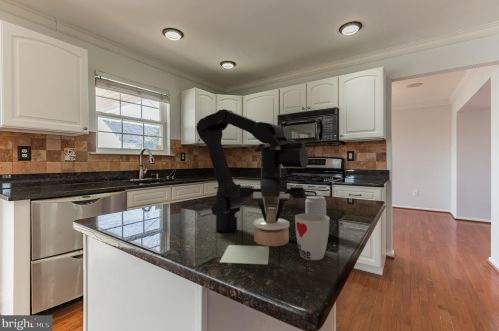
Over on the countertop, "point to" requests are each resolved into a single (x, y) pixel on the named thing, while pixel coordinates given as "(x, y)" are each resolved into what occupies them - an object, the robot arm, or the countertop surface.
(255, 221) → the lid
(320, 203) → the beverage can
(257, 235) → the bowl
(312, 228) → the cup
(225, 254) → the mat
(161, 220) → the countertop surface
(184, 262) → the countertop surface
